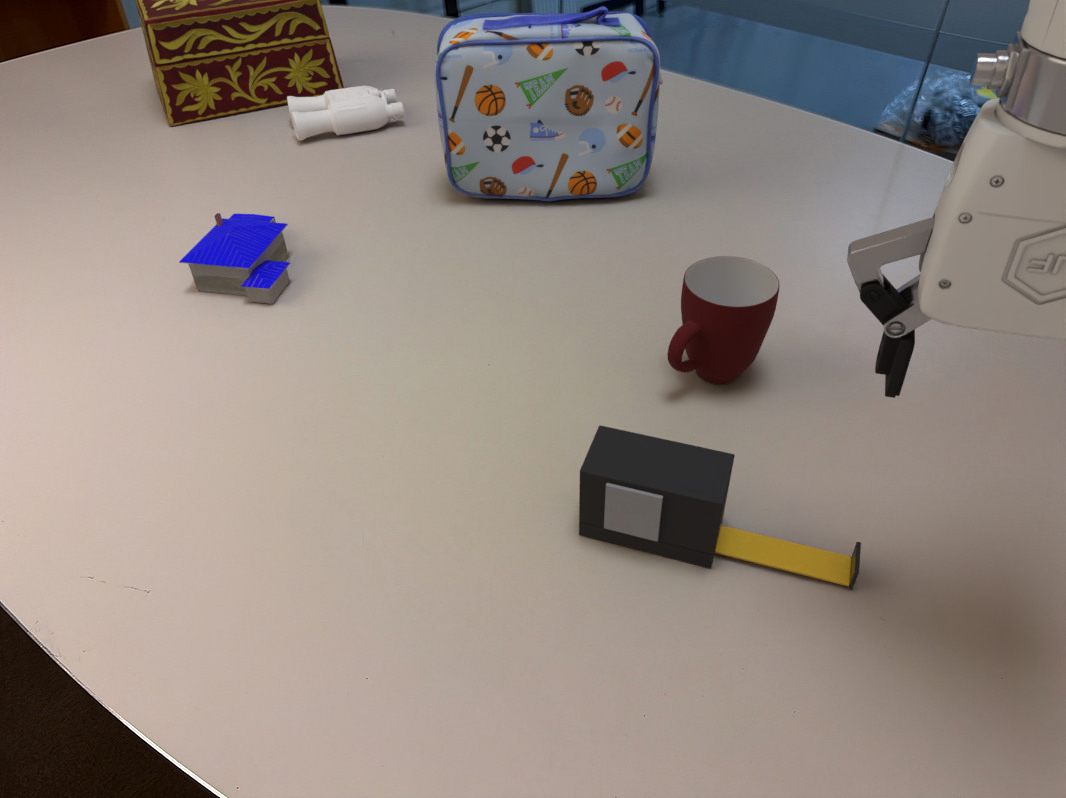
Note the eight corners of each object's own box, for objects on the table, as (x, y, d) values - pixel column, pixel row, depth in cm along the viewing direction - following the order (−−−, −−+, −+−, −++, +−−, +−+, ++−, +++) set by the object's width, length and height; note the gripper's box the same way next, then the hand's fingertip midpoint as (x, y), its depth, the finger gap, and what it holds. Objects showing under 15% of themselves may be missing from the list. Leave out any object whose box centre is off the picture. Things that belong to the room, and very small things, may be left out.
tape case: (723, 516, 62) (735, 451, 58) (710, 572, 58) (722, 507, 54) (597, 486, 65) (600, 422, 60) (577, 538, 61) (578, 473, 56)
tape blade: (854, 559, 59) (861, 542, 57) (852, 590, 57) (859, 572, 55) (720, 527, 61) (723, 509, 60) (714, 555, 59) (717, 538, 58)
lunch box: (652, 166, 108) (665, -13, 94) (664, 202, 101) (681, 13, 86) (447, 174, 108) (428, -4, 94) (443, 212, 100) (422, 24, 86)
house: (326, 239, 96) (316, 196, 92) (274, 307, 86) (261, 261, 82) (239, 232, 98) (226, 189, 94) (178, 297, 88) (161, 252, 84)
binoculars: (290, 120, 124) (283, 89, 121) (394, 104, 127) (389, 74, 124) (298, 147, 116) (291, 115, 113) (407, 129, 120) (403, 98, 117)
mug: (711, 426, 70) (726, 333, 63) (638, 385, 74) (645, 294, 68) (778, 370, 75) (798, 278, 69) (707, 335, 80) (719, 245, 73)
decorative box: (169, 127, 123) (135, 23, 113) (156, 88, 136) (124, -9, 126) (346, 94, 131) (328, -6, 122) (318, 60, 144) (299, -33, 134)
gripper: (884, 107, 34) (816, 413, 45) (1398, 137, 29) (1181, 472, 40) (887, 49, 39) (826, 336, 50) (1322, 67, 34) (1148, 380, 45)
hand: (983, 396), depth 45 cm, fingers open, 9 cm apart
